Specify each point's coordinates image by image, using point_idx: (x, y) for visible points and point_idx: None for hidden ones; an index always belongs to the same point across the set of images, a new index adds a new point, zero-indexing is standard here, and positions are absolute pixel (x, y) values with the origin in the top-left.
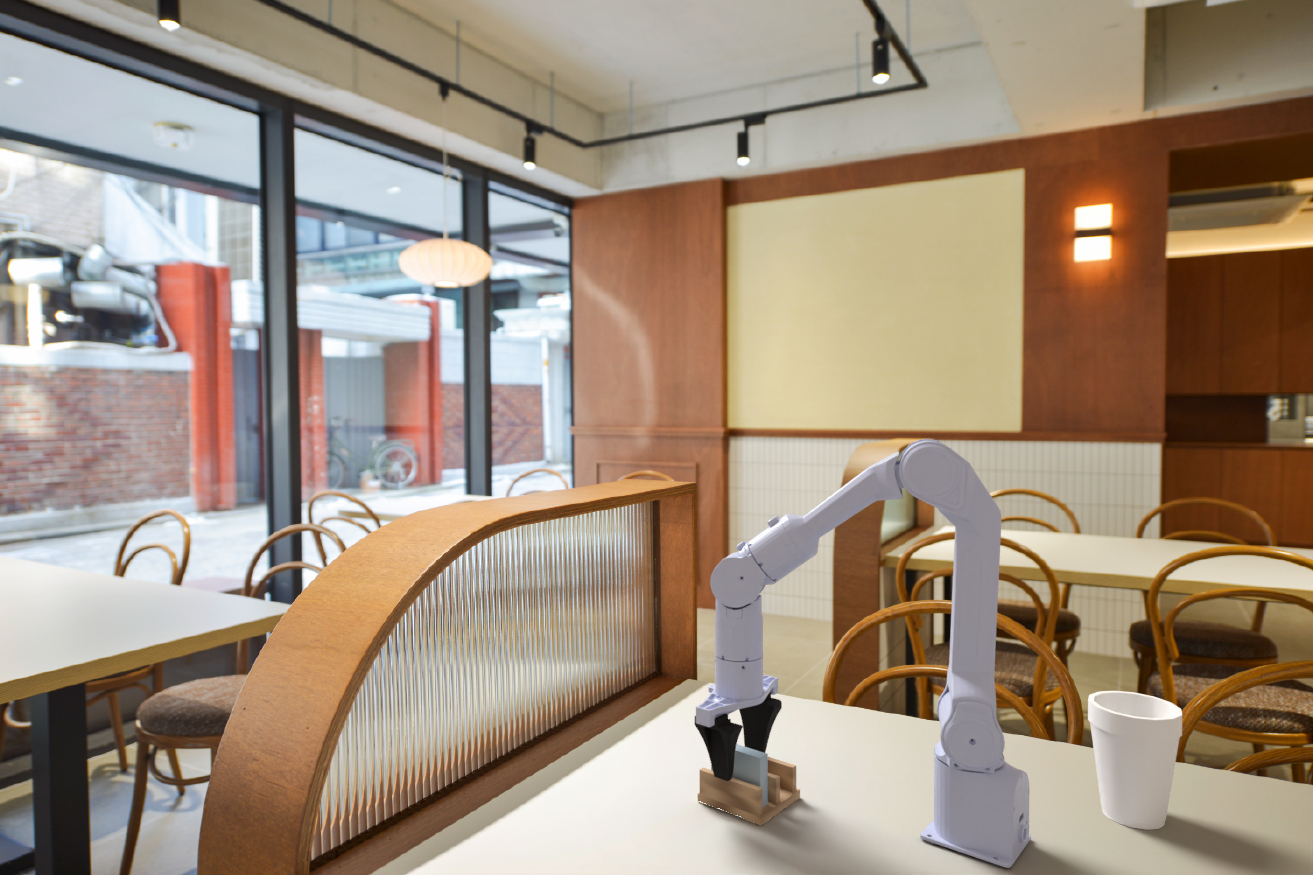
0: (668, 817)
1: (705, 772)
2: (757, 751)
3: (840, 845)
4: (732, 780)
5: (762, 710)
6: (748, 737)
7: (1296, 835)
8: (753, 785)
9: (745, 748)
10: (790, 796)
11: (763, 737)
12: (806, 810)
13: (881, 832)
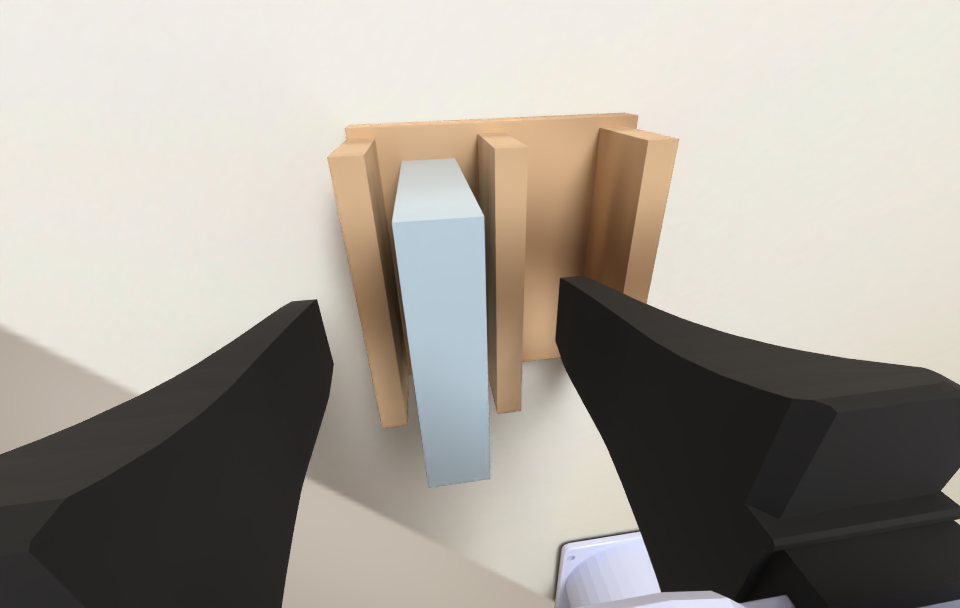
0: (165, 119)
1: (335, 196)
2: (480, 445)
3: (451, 491)
4: (368, 331)
5: (683, 572)
6: (601, 332)
7: None
8: (398, 399)
9: (472, 396)
10: (550, 357)
11: (599, 424)
12: (539, 383)
13: (548, 503)
